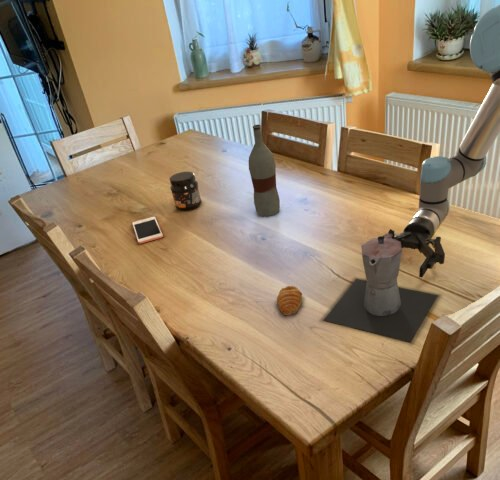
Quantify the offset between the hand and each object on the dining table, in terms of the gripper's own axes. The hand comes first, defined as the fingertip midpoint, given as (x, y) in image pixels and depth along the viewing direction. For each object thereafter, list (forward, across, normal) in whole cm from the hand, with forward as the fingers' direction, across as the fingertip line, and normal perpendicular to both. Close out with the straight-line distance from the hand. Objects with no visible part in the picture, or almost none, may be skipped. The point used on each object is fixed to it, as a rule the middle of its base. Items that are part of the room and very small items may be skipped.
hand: (393, 267), depth 124 cm
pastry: (+14, +22, -8) cm, 28 cm away
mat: (+7, 0, -8) cm, 11 cm away
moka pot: (+6, 0, -8) cm, 10 cm away
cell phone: (-8, +94, -8) cm, 95 cm away
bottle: (-33, +58, -8) cm, 67 cm away
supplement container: (-30, +92, -8) cm, 97 cm away
